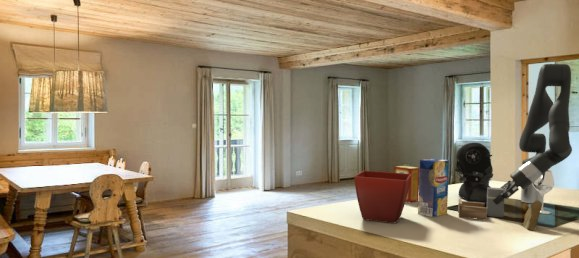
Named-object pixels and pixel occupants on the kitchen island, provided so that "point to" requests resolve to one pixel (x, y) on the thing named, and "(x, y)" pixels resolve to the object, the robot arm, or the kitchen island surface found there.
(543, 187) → the wineglass
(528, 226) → the rock
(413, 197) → the baking soda box
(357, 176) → the plant pot
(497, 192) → the grey lidded box
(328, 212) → the kitchen island surface
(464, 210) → the brown open box
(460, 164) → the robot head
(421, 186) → the beverage box
